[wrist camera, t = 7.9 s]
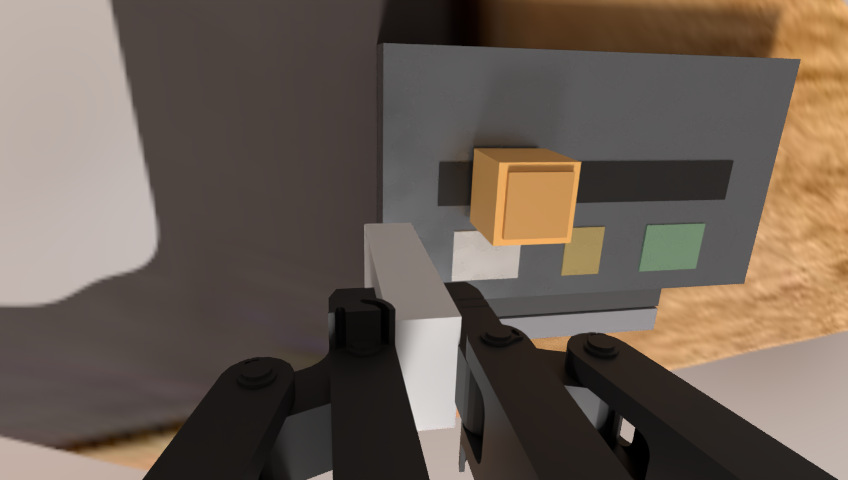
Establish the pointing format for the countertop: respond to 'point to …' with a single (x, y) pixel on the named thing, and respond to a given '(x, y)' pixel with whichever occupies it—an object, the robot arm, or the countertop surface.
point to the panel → (584, 160)
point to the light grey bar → (583, 322)
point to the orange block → (523, 195)
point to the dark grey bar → (574, 302)
